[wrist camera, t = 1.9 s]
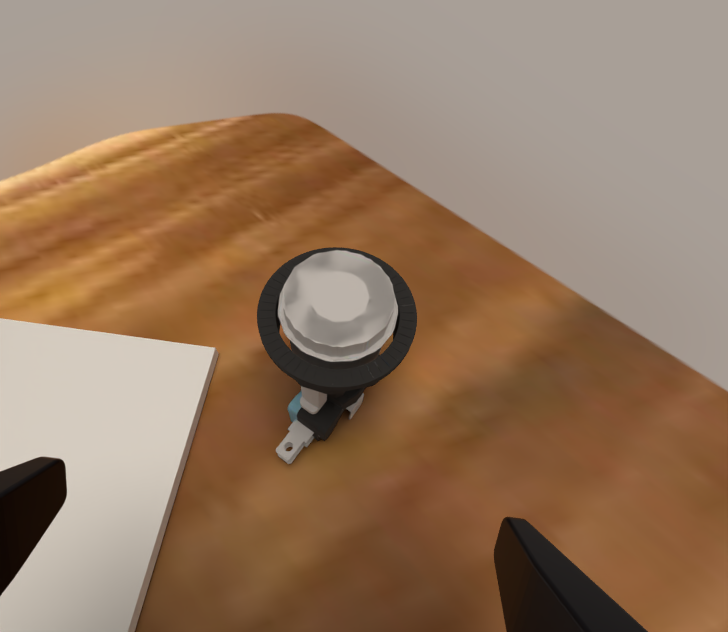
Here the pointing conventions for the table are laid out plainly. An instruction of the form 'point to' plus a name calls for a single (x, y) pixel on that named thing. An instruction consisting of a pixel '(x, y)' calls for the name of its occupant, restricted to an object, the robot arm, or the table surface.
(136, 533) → the marker board
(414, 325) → the push button
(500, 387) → the table surface
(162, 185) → the table surface
